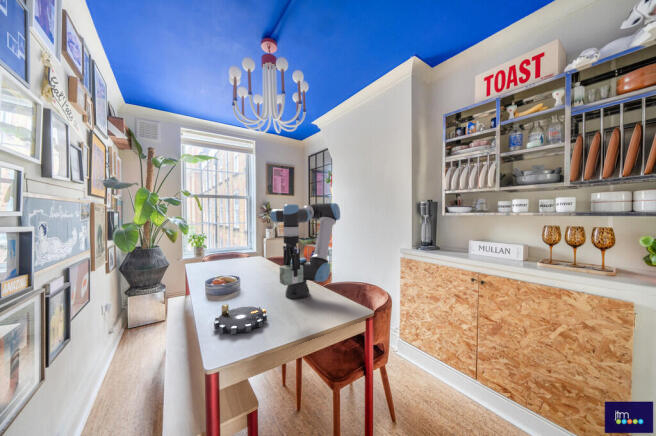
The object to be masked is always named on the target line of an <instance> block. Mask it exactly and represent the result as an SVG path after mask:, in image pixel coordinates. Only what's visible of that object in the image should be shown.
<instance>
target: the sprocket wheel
mask: <svg viewBox="0 0 656 436" xmlns="http://www.w3.org/2000/svg"><path fill="white" fill-rule="evenodd" d="M229 307H230V306H229V304H227V303H226V304H223V305H221V314H220V315H216V316H215V317H214V318H215V319H214V321H213V328H214V330H218V333H221V334H224V333H228V334H229V333H230V334H231V335H237V333H242V332H243V333H244V332H245V333H248V332H251V331H252V330H253V329H255V328H260V327H262V326H263V322H267V319H268V313H267V310H266V308H263V309H261V307H260V306H251V305H245V306H241V307H238V306H236V307H233V308H232V309H229Z"/></svg>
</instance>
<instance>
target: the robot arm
mask: <svg viewBox="0 0 656 436" xmlns="http://www.w3.org/2000/svg"><path fill="white" fill-rule="evenodd" d="M340 209H341V208H340V207H339V205H338V204H337V203H335V202H330V203H329V202H328V203H327V202H325V203H322V202H320V203H313V204H308V205H307V204H306V205H304V206H301V207H299V205H298V204H284V205H283V208H276V209H275V208H274V209H272V210H271V211H270V214H269V216H270V221H272V222H273V223H283V230H282V231H283V233H282V234H283V235H284V236H283V244H285V245H283V246H282V248H283V249H282V250H283V261H282V263H283V264H282V266H287V265H292V267H293V269H292V284H291V285H286V289H285V297H286V298H287V299H291V300H302V299H305V298H308V297H309V296H310V288H309V286H308V283H307V281H311V282H317V283H319V282H321V283H324V282H325V281H327V280H328V278H329V276H330V274H331V265H330V263H329V260H328V259H327V258H328V252H329V248H330V244H331V243H330V242H331V237H332V232H333V226H334V225H336V223H337V221H339V220H340V218H341V210H340ZM310 220H319V222H320V225H319V229H318V232H317V236H316V242H315V246H314V252H313V255H312V256H310V258H309V260H307V258H306V257H301V255H300V253H301V249H300V248H298V247H297V244H299V242H300V236H299V233H300V231H299V230H300V228H299V226H300V225H299V224H301V223H302V224H303V223H308V222H310ZM300 265H302V266H303V282H300V283H298V275H297V274H298V272H297V271H298V269H300ZM294 283H295V284H294Z"/></svg>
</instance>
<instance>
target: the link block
mask: <svg viewBox="0 0 656 436" xmlns="http://www.w3.org/2000/svg"><path fill="white" fill-rule="evenodd" d="M292 269H293V267H292V265H287V266H285V265H282V266H279V283H280V284H281V285H283V286H286V287H287V286H288V285H291V284H292ZM297 272H298V274H297V275H298V283H300V282H303V266H302V265H300V269H298V271H297ZM294 284H295V283H294Z"/></svg>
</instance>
